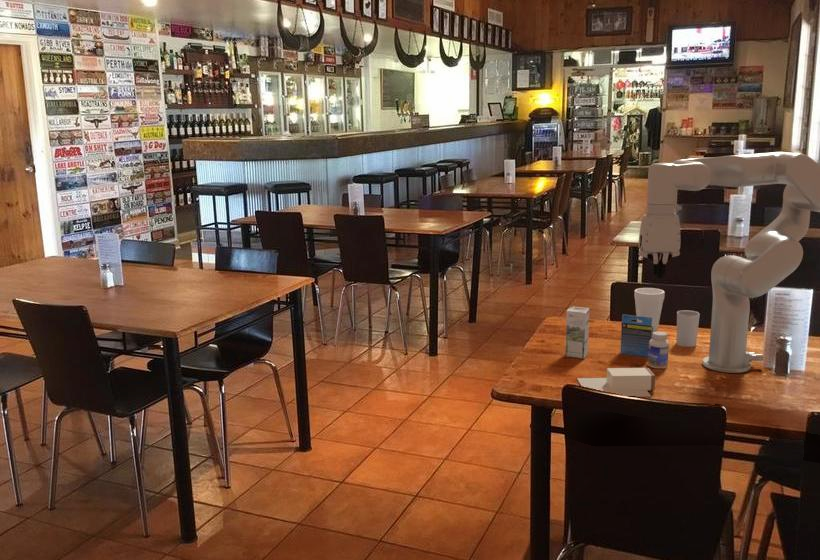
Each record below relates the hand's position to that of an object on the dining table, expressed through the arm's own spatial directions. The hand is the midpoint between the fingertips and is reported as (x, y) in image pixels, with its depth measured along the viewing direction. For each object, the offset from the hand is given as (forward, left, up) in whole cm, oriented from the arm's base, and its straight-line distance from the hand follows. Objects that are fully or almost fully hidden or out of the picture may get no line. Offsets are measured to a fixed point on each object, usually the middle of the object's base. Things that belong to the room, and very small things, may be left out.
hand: (657, 277), depth 201 cm
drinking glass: (-18, -25, -27) cm, 41 cm away
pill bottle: (-3, -5, -27) cm, 28 cm away
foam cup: (-11, -42, -27) cm, 51 cm away
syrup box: (+18, -15, -27) cm, 36 cm away
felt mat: (+14, +12, -27) cm, 33 cm away
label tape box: (0, -16, -27) cm, 32 cm away
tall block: (+4, +12, -25) cm, 28 cm away
